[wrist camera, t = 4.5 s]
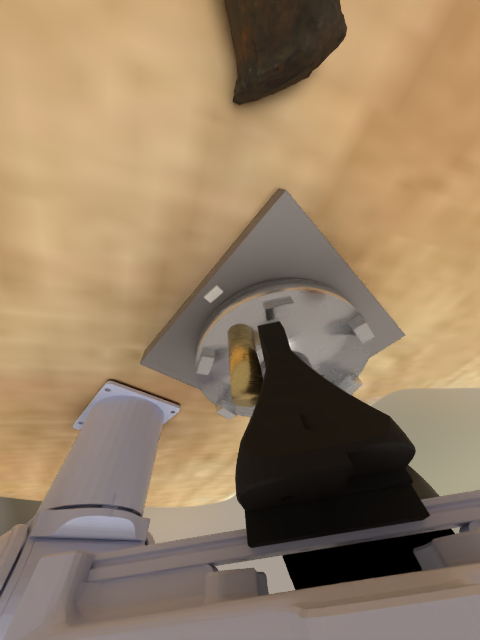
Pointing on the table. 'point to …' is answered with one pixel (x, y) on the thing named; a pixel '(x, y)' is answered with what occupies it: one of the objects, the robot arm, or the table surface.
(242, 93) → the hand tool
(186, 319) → the base plate
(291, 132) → the table surface
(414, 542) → the coal bowl
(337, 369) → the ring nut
